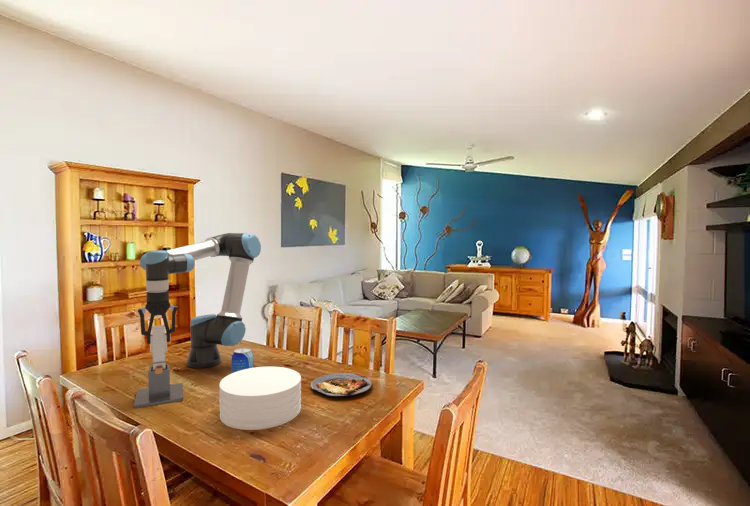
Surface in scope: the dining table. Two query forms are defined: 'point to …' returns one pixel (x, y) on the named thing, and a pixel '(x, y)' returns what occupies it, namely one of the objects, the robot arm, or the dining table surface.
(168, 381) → the stand
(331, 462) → the dining table surface
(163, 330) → the column
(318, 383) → the food plate
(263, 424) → the plate stack
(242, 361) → the beer can
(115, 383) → the dining table surface
